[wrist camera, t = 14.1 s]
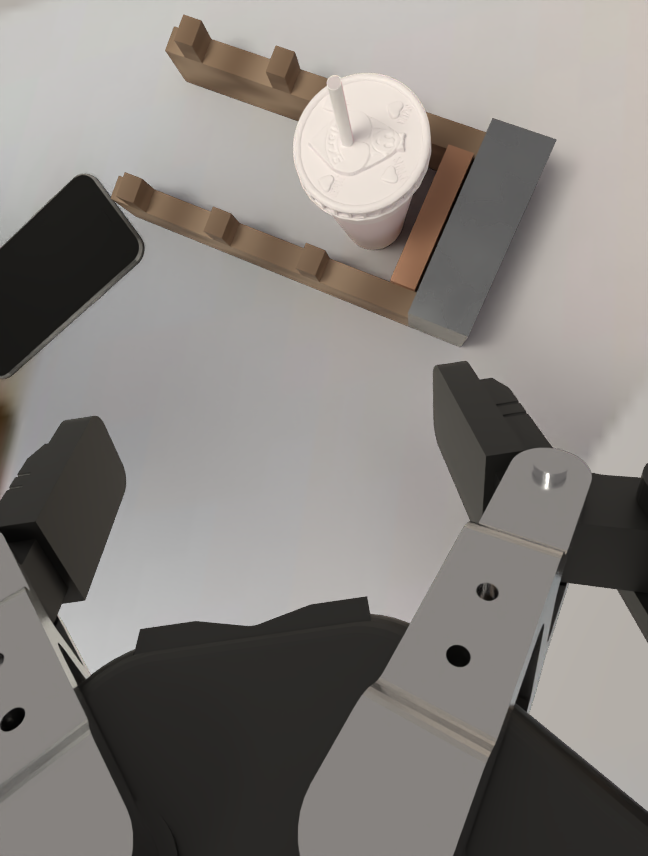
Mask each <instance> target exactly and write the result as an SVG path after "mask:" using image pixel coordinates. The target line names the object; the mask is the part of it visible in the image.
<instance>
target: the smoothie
mask: <svg viewBox="0 0 648 856" xmlns="http://www.w3.org/2000/svg"><path fill="white" fill-rule="evenodd" d="M430 156H431V136H430V126H429V121H428V117H427V114H426V112H425V109H424V107H423V105H422V103H421V102H420V100H419V99H418V97H417V96H416V95H415V94H414V93H413V91H411V90H410V89H409V88H408V87H407V86H406V85H404V84H403V83H401V82H400V81H398V80H396V79H394V78H392V77H389V76H386V75H382V74H377V73H358V74H353V75H349V76H346V77H343V78H340V77H339V76H337V75H332V76H330V77H329V78H328V80H327V86H326V87H325V88H323V89H322V90H321V91H320V92H319V93H317V94H316V95H315V96H314V98H313V99H312V100H311V101H310V102H309V104H308V105H307V106H306V108H305V109H304V111H303V113H302V115H301V117H300V119H299V121H298V124H297V127H296V130H295V135H294V141H293V157H294V163H295V167H296V171H297V173H298V176H299V179H300V182H301V185H302V187H303V189H304V190H305V192H306V193H307V195H308V196H309V198H310V199H311V201H312V202H313V203H315V204H316V205H317V206H318V207H319V208H321V209H322V210H323V211H324V212H326V213H328V214H331V215H332V216H333V217H334V219H335V220H336V221H337V222H338V223H339V225H340V226H341V227H342V228H343V230H344V231H345V232H346V233H347V234H348V236H349V237H350V238H351V239H352V240H353V242H354V243H356V244H357V245H358V246H360V247H362V248H365V249H369V250H377V249H382V248H384V247H387V246H388V245H390V244H391V243H393V242H394V241H395V240H396V239H397V237H398V236H399V234H400V233H401V230H402V228H403V224H404V221H405V218H406V215H407V211H408V208H409V205H410V202H411V198H412V195H413V194H414V192H415V191H416V190H417V189H418V188H419V186H420V184H421V182H422V180H423V178H424V176H425V174H426V172H427V170H428V165H429V160H430Z"/></svg>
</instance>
